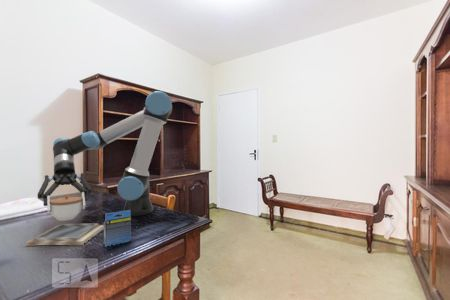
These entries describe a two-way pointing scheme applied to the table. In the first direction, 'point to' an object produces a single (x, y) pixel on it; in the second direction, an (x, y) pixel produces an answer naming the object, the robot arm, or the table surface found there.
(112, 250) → the table surface
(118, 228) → the label tape box
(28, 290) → the table surface
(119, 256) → the table surface
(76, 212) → the lidded jar
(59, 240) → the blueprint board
